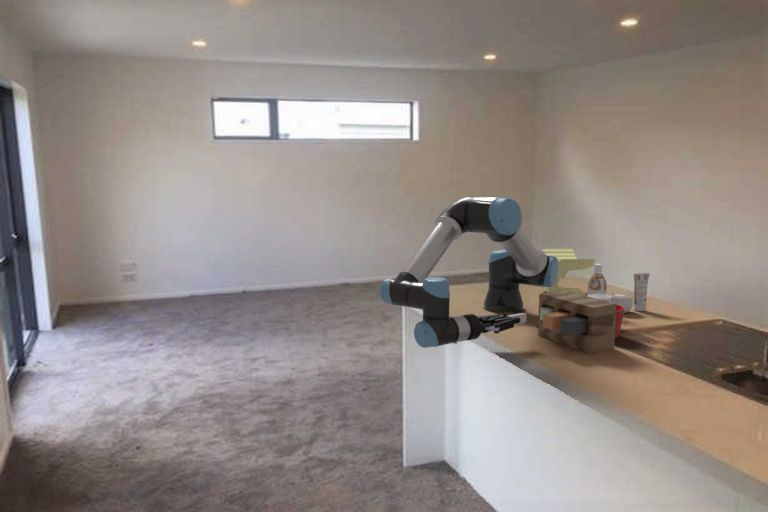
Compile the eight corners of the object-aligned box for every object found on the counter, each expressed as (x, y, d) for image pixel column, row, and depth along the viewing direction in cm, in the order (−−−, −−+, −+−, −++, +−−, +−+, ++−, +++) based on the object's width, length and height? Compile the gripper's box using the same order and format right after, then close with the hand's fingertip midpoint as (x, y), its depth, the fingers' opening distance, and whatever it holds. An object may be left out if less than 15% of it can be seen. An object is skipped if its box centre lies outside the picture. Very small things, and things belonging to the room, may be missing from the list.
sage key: (539, 319, 190) (540, 307, 189) (562, 315, 195) (562, 303, 194) (548, 322, 187) (549, 310, 186) (571, 318, 191) (572, 306, 191)
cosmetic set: (639, 307, 230) (642, 259, 227) (655, 313, 221) (658, 263, 218) (581, 311, 225) (583, 262, 222) (594, 317, 216) (597, 266, 213)
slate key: (560, 332, 175) (560, 319, 175) (584, 327, 180) (584, 315, 180) (570, 335, 172) (571, 322, 171) (594, 330, 177) (595, 317, 176)
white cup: (611, 327, 202) (613, 299, 201) (587, 326, 204) (588, 298, 202) (607, 321, 210) (609, 294, 208) (584, 320, 211) (585, 293, 210)
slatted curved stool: (536, 287, 269) (537, 248, 266) (571, 287, 269) (572, 248, 266) (553, 302, 240) (554, 259, 237) (592, 302, 239) (594, 259, 236)
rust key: (542, 327, 181) (543, 314, 181) (566, 322, 186) (566, 310, 186) (552, 330, 178) (552, 317, 177) (576, 325, 183) (576, 313, 182)
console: (538, 335, 193) (539, 293, 191) (560, 331, 198) (561, 290, 196) (590, 353, 174) (593, 307, 172) (614, 348, 179) (616, 303, 177)
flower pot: (581, 333, 196) (582, 304, 194) (606, 329, 200) (608, 301, 198) (604, 341, 186) (605, 311, 184) (630, 337, 190) (632, 308, 189)
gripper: (450, 335, 179) (510, 324, 190) (477, 346, 168) (539, 334, 179) (450, 310, 178) (510, 301, 189) (477, 320, 166) (540, 310, 178)
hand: (524, 317), depth 184 cm, fingers closed
